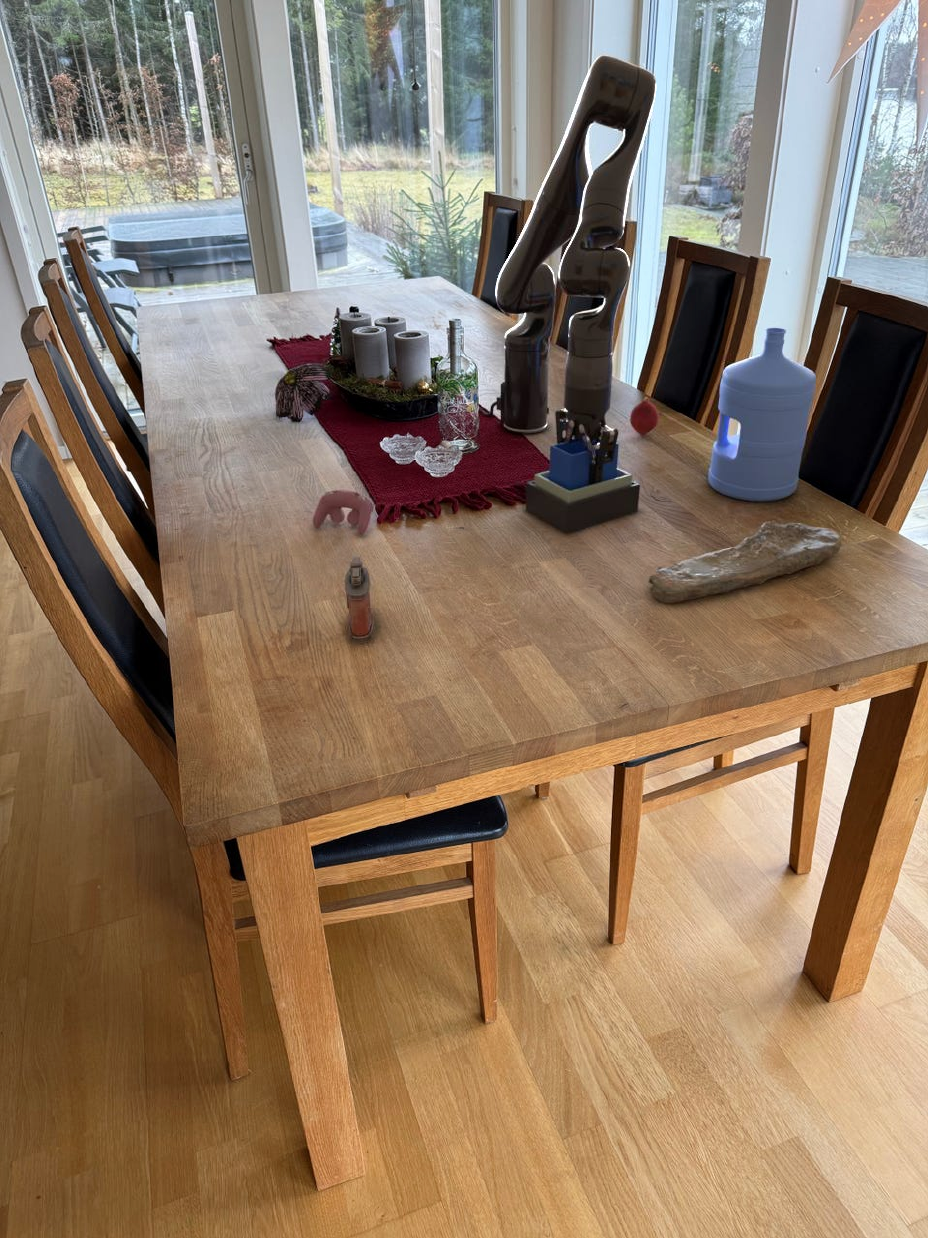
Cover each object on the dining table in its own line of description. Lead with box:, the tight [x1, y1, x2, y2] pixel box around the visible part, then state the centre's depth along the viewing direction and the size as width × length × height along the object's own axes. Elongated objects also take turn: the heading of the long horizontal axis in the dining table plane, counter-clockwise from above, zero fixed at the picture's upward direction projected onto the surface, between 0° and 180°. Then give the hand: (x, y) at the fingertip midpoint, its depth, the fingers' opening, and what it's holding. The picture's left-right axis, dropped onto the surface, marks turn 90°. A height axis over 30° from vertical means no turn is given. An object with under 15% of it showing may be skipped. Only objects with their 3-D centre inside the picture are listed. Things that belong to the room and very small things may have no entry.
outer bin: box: [525, 480, 641, 535], centre depth 155 cm, size 16×12×5 cm
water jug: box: [707, 327, 817, 502], centre depth 157 cm, size 16×16×28 cm
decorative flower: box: [274, 362, 332, 423], centre depth 202 cm, size 14×12×15 cm
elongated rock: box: [648, 519, 842, 604], centre depth 135 cm, size 35×5×10 cm
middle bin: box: [533, 467, 633, 503], centre depth 154 cm, size 14×10×6 cm
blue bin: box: [548, 441, 620, 491], centre depth 152 cm, size 10×6×7 cm, turn 122°
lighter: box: [344, 556, 375, 644], centre depth 122 cm, size 8×3×10 cm, turn 5°
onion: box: [629, 396, 659, 436], centre depth 186 cm, size 6×6×8 cm
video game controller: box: [312, 489, 375, 535], centre depth 152 cm, size 10×5×7 cm, turn 71°
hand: (582, 477), depth 153 cm, fingers closed on blue bin, 5 cm apart
